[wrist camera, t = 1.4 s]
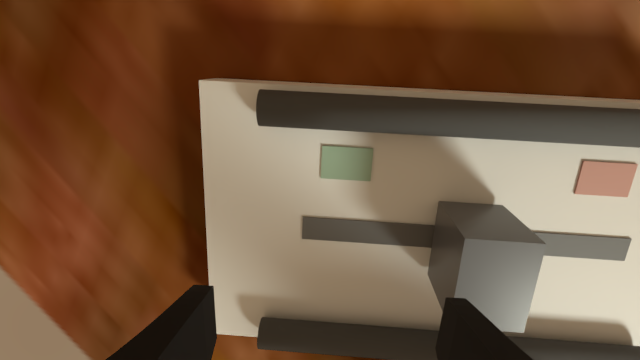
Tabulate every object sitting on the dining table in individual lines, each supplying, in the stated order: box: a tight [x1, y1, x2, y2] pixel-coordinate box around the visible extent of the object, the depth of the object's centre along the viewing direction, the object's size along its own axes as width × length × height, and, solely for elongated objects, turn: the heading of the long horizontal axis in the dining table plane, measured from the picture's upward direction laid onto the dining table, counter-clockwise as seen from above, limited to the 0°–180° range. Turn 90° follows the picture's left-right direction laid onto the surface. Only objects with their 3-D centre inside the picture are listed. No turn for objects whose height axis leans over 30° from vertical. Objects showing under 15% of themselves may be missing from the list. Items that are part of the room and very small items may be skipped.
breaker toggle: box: [428, 201, 546, 333], centre depth 16 cm, size 4×3×4 cm
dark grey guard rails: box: [256, 89, 640, 360], centre depth 18 cm, size 14×20×2 cm
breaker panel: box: [199, 78, 640, 346], centre depth 20 cm, size 14×26×3 cm, turn 87°
